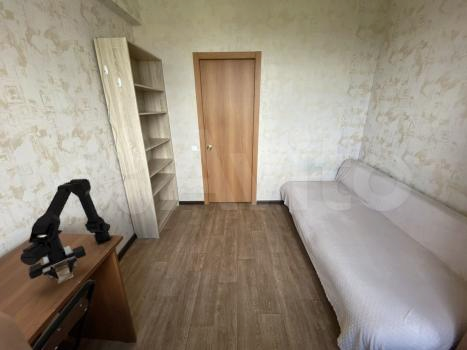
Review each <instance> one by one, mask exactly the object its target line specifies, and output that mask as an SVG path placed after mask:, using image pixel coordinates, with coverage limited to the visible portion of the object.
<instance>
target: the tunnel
mask: <svg viewBox="0 0 467 350" xmlns="http://www.w3.org/2000/svg"><path fill="white" fill-rule="evenodd" d="M63 248H64V250H65V253H66V255H67V254H68V253H70V252H73V250H72V248H71V247H70V245H67V246H65V247H64V246H63ZM42 259H43V265H44V264H46V263H48V262H49V260H48V258H47V257H43V258H42ZM76 267H78V266H77V261H76V262H74V265H73V268H76ZM48 277H49V279H53V278H54V277H53V276H50V275H48Z"/></svg>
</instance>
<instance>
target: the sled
mask: <svg viewBox="0 0 467 350" xmlns="http://www.w3.org/2000/svg"><path fill="white" fill-rule="evenodd" d="M53 268H54V270H55V271H56V273H57V275H58V278H59V280H58V279H56V280H57V284H58V285H59V284H62V283H64V282H66V281H68V280H70V279H72V278H74V277H75V276H74V273H73V272H74V271H72V274H70V271H69V266H68V261H67V260H65V261H63V262H60V263H58V264H56V265H53Z"/></svg>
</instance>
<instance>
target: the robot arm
mask: <svg viewBox="0 0 467 350" xmlns="http://www.w3.org/2000/svg"><path fill="white" fill-rule="evenodd" d="M56 188H57V189H56V192H55V194H54V196H53V197H52V200H50V201H51V202H50V203H49V206H47V209H46V211H45V213H43V214H42V215H41V216H40V217H38V218H37V219H36V221H35V222H34V224H32V227H31V231H30V235H29V238H28V239H29V240H28V244H29V243H30V245H29V246H27V247H25V248H24V249H22V253H21V254H20V258H19V259H20V261H21V262H22V263H23V264H25V265H27V266H29V267H28V269H27V270H28V276H29V279H30V280H34V279H36V278H38V277H40V276H42V275H43V276H46V275H48V276H49V275H50V276H53V278H54V279H56V280H57V279H58V280H59V278H58V275H57V273H56V271H55V268H54V265H56V264H58V263H60V262H63V261H65V260H67V261H68V266H69V271H70V274H72V272H73V268H74V262H76V263H77V261H78V259H82V258H84V257H86V256H87V253H86V249H85V247H84V246H83V245H80V246H76V247H75V248H71V251H72V252H70V253H68V254H67V255H66V253H65V250H64V245H63V243H62V240H61V238H60V236H59V235H60V234H61V233H63V230H60V225H61V217H60V216H61V214H62V212H63V211H64V208H65V206H66V203H67V202H68V200H69V197H70V196H71V193H72V194H74V196H76V197H77V198H78V200H79V202H80V205H81V207H82V209H83V211H84V214H85V216H86V218H87V219H86V220H87V221H86V223H84V227H85V228H86V231H88V232H89V233H90V234H93V238H94V241H95V242H96V243H97V244H98V245H101V244H103V243H106V242H108V241H110V240H112V237H111V236H110V234H109V233H110V232H109V231H110V229H111V224H110V223H107V222H106V221H105V219H104V218H103V217H101V216H100V215H99V214H98V212H97V209H96V206H95V204H94V201H93V199H92V196H91V194H90V193H91V190H92V185H91V182H90V180H89V179H88V178H72V179H70V181H68V182H64V183H62V184H60V185H58V186H57V187H56ZM43 235H46V236H44V237H40V236H43ZM43 257H47V258H48V260H49V262H48V263H46V264H44V263H43V264H42V262H40V260H42V259H43Z"/></svg>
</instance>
